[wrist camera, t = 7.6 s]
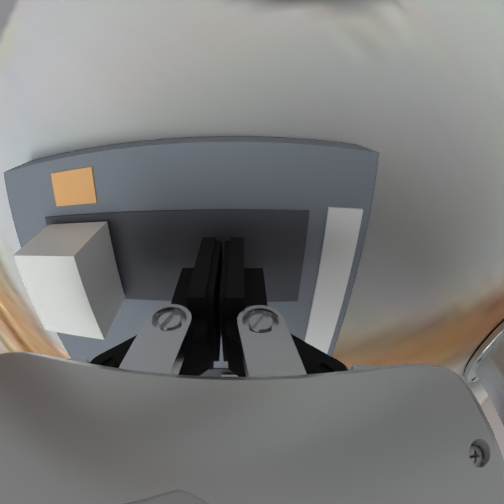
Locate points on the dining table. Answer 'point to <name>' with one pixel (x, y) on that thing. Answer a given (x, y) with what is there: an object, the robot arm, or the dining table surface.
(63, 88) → the dining table surface
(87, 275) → the tab
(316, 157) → the switch panel
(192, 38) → the dining table surface
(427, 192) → the dining table surface
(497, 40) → the dining table surface
